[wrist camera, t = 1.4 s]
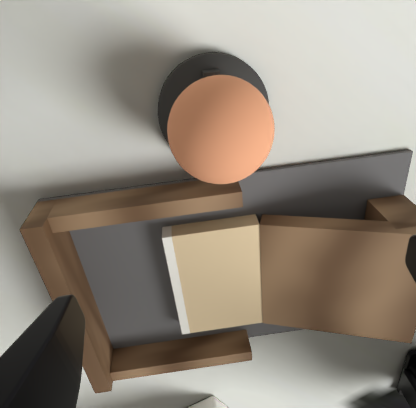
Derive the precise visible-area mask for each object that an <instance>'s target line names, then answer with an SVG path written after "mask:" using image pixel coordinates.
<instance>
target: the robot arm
mask: <svg viewBox="0 0 416 408" xmlns="http://www.w3.org/2000/svg"><path fill="white" fill-rule="evenodd" d="M405 263H406V266H407V269H408V270H409V272H410V274H411V276H412V278H413V279H414V281H415V283H416V234H415V235H412V236H411V237H410V238H409V242H408V246H407V251H406V256H405ZM84 335H85V316H84V314H83V311H82V309H81V307H80V305H79V303H78V301H77V299H76V297H75V296H74V295H72V294H70V295H64V296H59V297H57V298H56V299H55V300H54V301H53V302H52V303H51V304H50V305H49V306H48V307H47V308H46V309H45V310H44V311H43V312H42V313H41V314H40V315H39V316H38V318H37V319H36V320H35V321H34V322H33V323H32V324H31V325H30V326H29V327H28V328H27V329H26V330H25V331H24V332H23V333H22V334H21V336H20V337H19V338H18V339H17V340H16V341H15V342H14V343H13V344H12V345H11V346H10V347H9V348H8V349H7V350H6V351H5V352H4V354H3V355H2V356H1V357H0V408H76V404H77V399H78V394H79V388H80V382H81V374H82V362H83V348H84ZM397 391H398V393H399V394H400V395H404V397H405V398H406V400H407V402H408V404H409V405H410V407H411V408H416V350H412V351H410V352H408V354H407V357H406V360H405V363H404V367H403V370H402V373H401V377H400V380H399V383H398V387H397Z"/></svg>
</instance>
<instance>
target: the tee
mask: <svg viewBox="0 0 416 408" xmlns="http://www.w3.org/2000/svg"><path fill="white" fill-rule="evenodd" d="M213 75H230V76H234V77H238V78H241V79H243V80H245V81H247V82H249V83H250V84H252V85H253V86H254V87H255V88H257V89H258V90H259V91H260V92H261V93H262V95H263V96H264V98H265V99H266V101H267V102H268V104H269V101H268V96H267V92H266V89H265V86H264V84H263V82H262V80H261V79H260V77H259V76H258V74H257V73H256V72H255V71H254V70H253V69H252V68H251V67H250V66H249V65H248V64H246V63H245V62H244V61H242V60H240V59H239V58H237V57H234V56H232V55H229V54H225V53H217V52H212V53H204V54H199V55H196V56H193V57H191V58H189V59H187V60H185V61H184V62H183V63H181V64H180V65H178V66H177V67H176V68H175V69H174V70H173V71H172V73H171V74H170V75H169V76H168V78H167V80H166V81H165V83H164V85H163V87H162V90H161V93H160V97H159V103H158V118H159V124H160V128H161V130H162V133H163V135H164V137H165V139H166V141H167V142H168V143H169V141H168V134H167V124H168V119H169V114H170V111H171V108H172V106H173V104H174V102H175V101H176V99H177V98H178V96H179V95H180V94H181V93H182V92H183V91H184V90H185V89H186V88H187V87H188V86H189V85H191V84H192V83H194V82H196V81H198V80H200V79H202V78H205V77H208V76H213Z"/></svg>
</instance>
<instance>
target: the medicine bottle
mask: <svg viewBox="0 0 416 408" xmlns="http://www.w3.org/2000/svg"><path fill="white" fill-rule="evenodd" d="M188 408H228V407H227V406H226V405H224V404H223V403H222V402H221V401H219V400H218V399H217V398H216V397H214V396H211V397H209V398H207V399H205V400H202V401H200V402H198V403H196V404H194V405H192V406H190V407H188Z"/></svg>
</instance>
